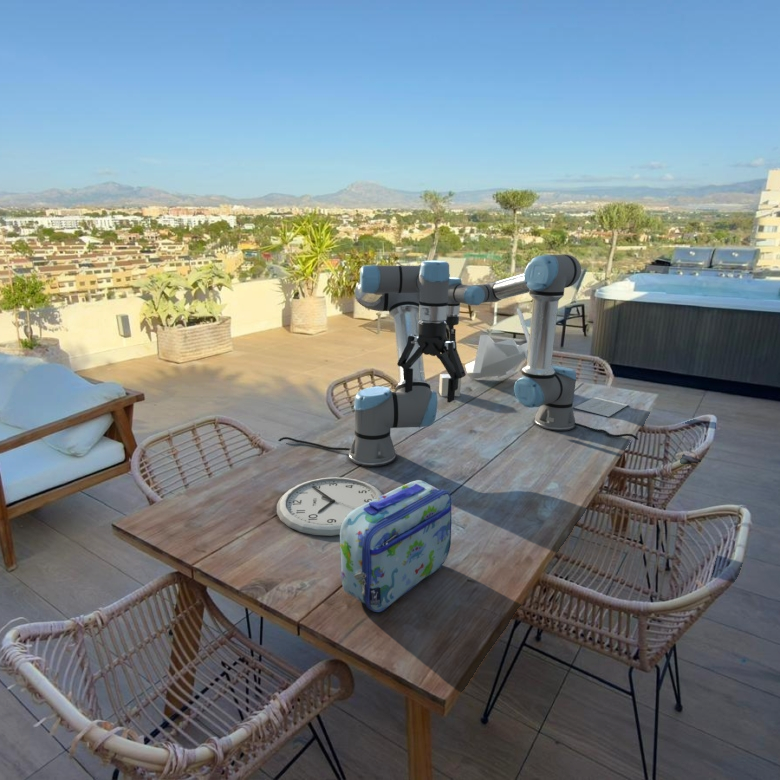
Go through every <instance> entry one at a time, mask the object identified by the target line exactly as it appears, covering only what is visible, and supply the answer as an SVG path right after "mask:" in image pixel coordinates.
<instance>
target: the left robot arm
mask: <svg viewBox="0 0 780 780" xmlns="http://www.w3.org/2000/svg"><path fill="white" fill-rule="evenodd" d="M449 278H451V275H450V264H449V263H448V262H447V261H444V260H423V261H422V262H420V264H419V265H387V264H386V265H383V264H381V265H380V264H369V265H367V264H366V265H362V266H361V267H360V270H359V281H357V283H356V285H355V288H354V297H355V299H356V301H357V303H358V304H360V306H361V307H364V308H365V309H368V310H371V311H375V312H376V311H377V312H388V315H389V317H390V319H391V320H393V321H394V334H395V346H396V359H397V365H396V366H397V369H398V384H397V385H396V386H395V391H392V389H391V388H390V387H389V386H382V385H376V386H369V387H366V388H363V389H360V390H359V391H358V392H357V393H356V394H355V396H354V404H353V409H354V436H353V439H352V442H351V445H350V447H333V446H327V445H324V444H320V443H315V442H311V441H307V440H301V439H300V440H299V439H296V438H292V437H289V436H283V437H280V438H279V439H278V440H277V441H278V442H281V441H284V440H289V441H292V442H296V443H300V444H306V445H311V446H315V447H319V448H322V449H327V450H331V451H349V452H348V457H349V460H350V461H351V462H352V463H354V464H356V465H358V466H362V467H370V468H377V467H383V466H387V465H389V464H391V463H393V462H394V461H395V460H396V449H395V445H394V443H393V440H392V437H391V429H402V428H403V429H404V428H405V429H406V428H419V429H420V428H425V427H431V426H432V425H433V424H434V422H435V420H436V417H437V411H438V395H437V392H436V390H432V388H431V384H430V383H429V382H427V381H426V376H425V366H424V356H423V354H424V355H428V356H432V357H436V358H437V359H439V361H440V362H441V364H442V365H443V367H444V369H445V370H446V372H447V374H449V375H450V377H451V378H450V379H448V396H446V397H447V399H446V401H447V403H449V404H450V403H452V402H453V401H455V397H456V396H455V390H457V389H458V379H459V378H461V379H462V378H464V377H466V374H467V373H466V371H465V368H464V366H463V363H462V359H461V357H460V354H459V351H458V349H457V347H458V346H457V341H452V342H446V340H445V336H446V326H447V323H446V322H445V320H446V319H447V304H448V288H449ZM445 346H446V347H447V349H448V351H449V355H450V358H451V360H452V362H451V361H450V359H449V357H448V356H447V352H446V351H445V349H444V348H445ZM452 363H453V364H452Z"/></svg>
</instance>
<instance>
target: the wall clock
mask: <svg viewBox="0 0 780 780" xmlns="http://www.w3.org/2000/svg"><path fill="white" fill-rule="evenodd" d="M384 494H385V493H383V492H382V491H381V490H380V489H379V488H377V487H376V486H374V485H372V484H371V483H369V482H365V481H362V480H359V479H355V478H349V477H338V476H337V477H335V476H333V477H332V476H331V477H322V478H317V479H312V480H307V481H305V482H302V483H299V484H297V485H295V486H293V487H292V488H290V489H288V490H287V491H286V492H285V493H284V494H283V495H281V496H280V498H279V499H278V502H277V503H276V515H277V517H278V518H279V520H280V521H281V522H282V523H283V524H285V525H286V526H287V527H288V528H290V529H293V530H295V531H297V532H299V533H303V534H308V535H312V536H327V537H328V536H329V537H331V536H332V537H333V536H340V530H341V526H342V523H343V521H344V519H345V518H346V516H347V515H348V514H349V513H350V512H351V511H353V510H354V509H356V508H358V507H360V506H362V505H364V504H366V503H368V502H370V501H372V500H374V499H376V498H378V497H380V496H382V495H384Z"/></svg>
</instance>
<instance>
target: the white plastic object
mask: <svg viewBox="0 0 780 780" xmlns="http://www.w3.org/2000/svg"><path fill="white" fill-rule="evenodd" d="M516 312H517V315H518V318H519V322H520V325H521V328H522V331H523V333H524V337H525V339H526V340H525V341H526V342H524V343H523V344H517V343H516V340H515V339H514V338H510V339H506V340H505V339H504V340H500V341H496V342H495V341H494V339H493V338H491V336H490V335H489V334H480V335H479V339H478V345H477V350H476V354H475V358H474V360H473V361H471V362H468V363H466V364H464V367H465V370H466V371H465V372H466V374H467V375H468V377H469V379H471V380H474V379H481V378H482V379H483V378H491V377H497V378H501V377H503V376H506V375H507V372H509V371H511V370H512V369H513V368H515V367H516V366H517V365H519V364H521V363H522V362H524V361H525V360H527V359H528V349H529V338H530V331H529V330H528V327H527V323H526V320H525V318H524V315H523V311H522V310H521V308H520V307H517V308H516Z"/></svg>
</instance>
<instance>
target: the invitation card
mask: <svg viewBox="0 0 780 780" xmlns="http://www.w3.org/2000/svg"><path fill="white" fill-rule="evenodd" d="M628 406H629V404H627V403H623V402H618V401H614V400H609V399H605V398H601V397H596V396H593V397H592V398H590V399H588V400H586V401H584V402H582V403H580V404H578V405H575V406H574V407H573V409H575V410H581V411H584V412H587V413H593V414H596V415H600V416H604V417H608V418H609V417H611V416H613V415H614V414H616V413H617V412H619V411H621V410H623V409H624V408H626V407H628Z"/></svg>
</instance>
